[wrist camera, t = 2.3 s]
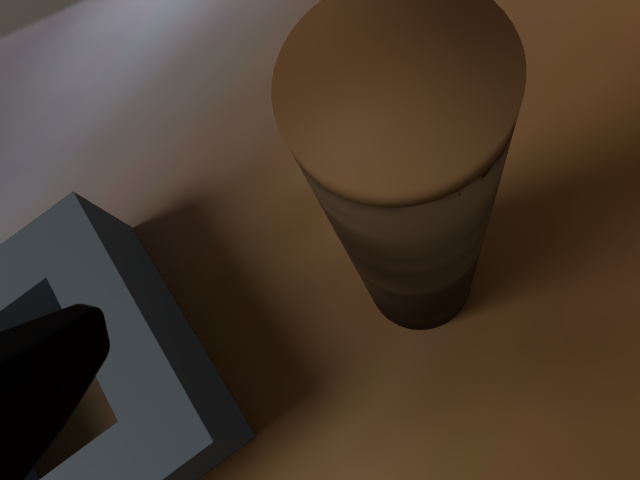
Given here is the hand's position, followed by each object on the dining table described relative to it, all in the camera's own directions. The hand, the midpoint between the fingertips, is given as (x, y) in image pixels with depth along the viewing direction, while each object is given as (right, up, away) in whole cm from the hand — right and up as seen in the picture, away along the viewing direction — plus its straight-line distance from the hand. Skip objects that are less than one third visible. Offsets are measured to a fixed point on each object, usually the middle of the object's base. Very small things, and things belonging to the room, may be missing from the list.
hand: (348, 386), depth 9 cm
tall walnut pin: (+3, +1, +11) cm, 12 cm away
